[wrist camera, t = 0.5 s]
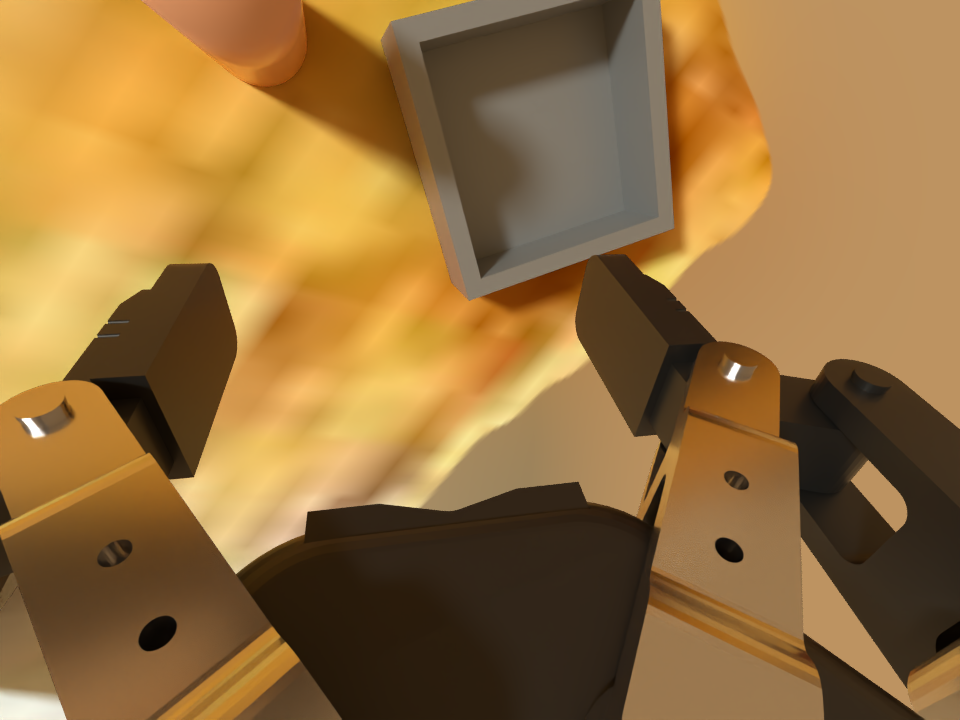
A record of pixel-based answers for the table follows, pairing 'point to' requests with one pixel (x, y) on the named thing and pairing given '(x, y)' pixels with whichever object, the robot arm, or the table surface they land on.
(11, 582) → the hip flask
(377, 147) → the table surface
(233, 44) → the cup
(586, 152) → the tote
